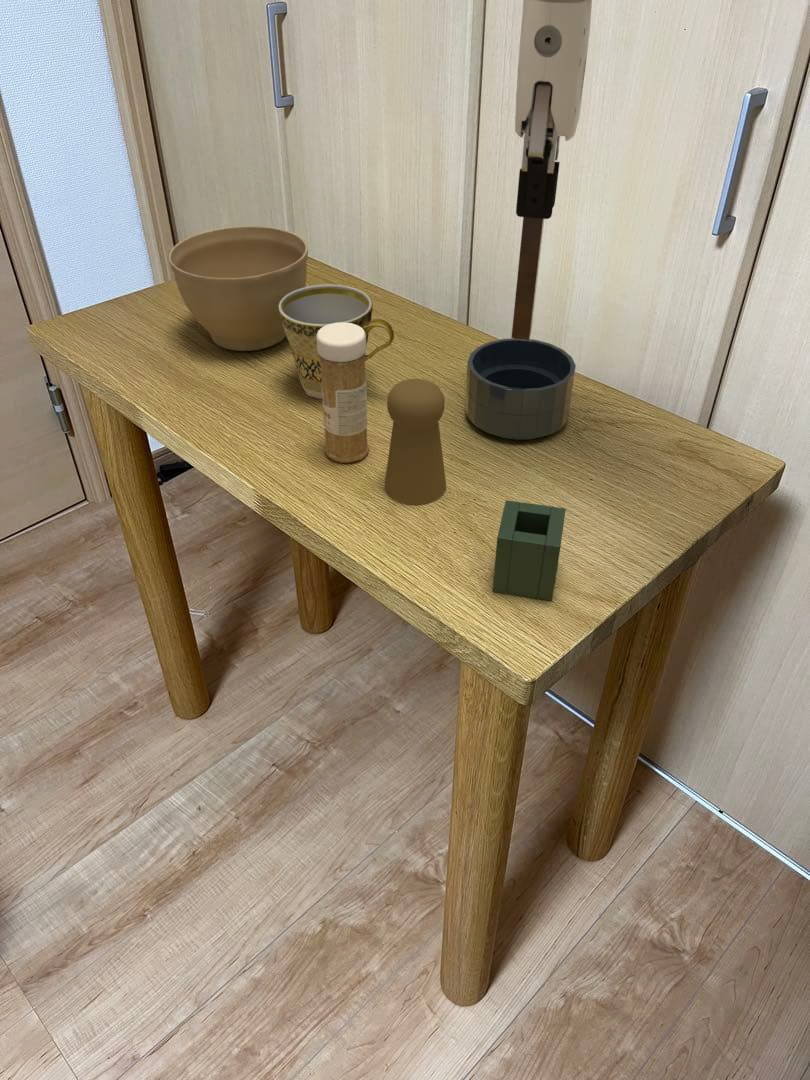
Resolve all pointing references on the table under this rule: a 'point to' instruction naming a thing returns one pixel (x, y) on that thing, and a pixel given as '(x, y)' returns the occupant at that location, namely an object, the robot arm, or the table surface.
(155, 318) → the table surface
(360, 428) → the sprinkles bottle
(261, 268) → the planter bowl
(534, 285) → the stirring stick
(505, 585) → the stick holder
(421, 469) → the brown peg doll
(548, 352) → the mixing bowl
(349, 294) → the ceramic cup
